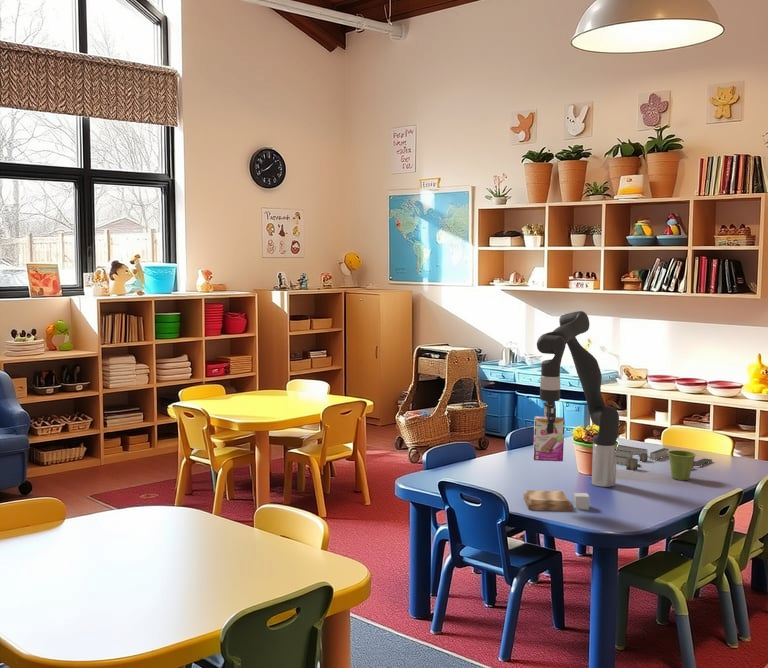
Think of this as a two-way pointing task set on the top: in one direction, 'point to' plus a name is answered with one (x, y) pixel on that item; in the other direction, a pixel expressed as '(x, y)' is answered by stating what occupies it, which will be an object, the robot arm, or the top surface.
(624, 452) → the building set
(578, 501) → the grey cube
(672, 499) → the top surface
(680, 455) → the plant pot
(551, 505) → the plinth
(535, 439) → the candy bar box
